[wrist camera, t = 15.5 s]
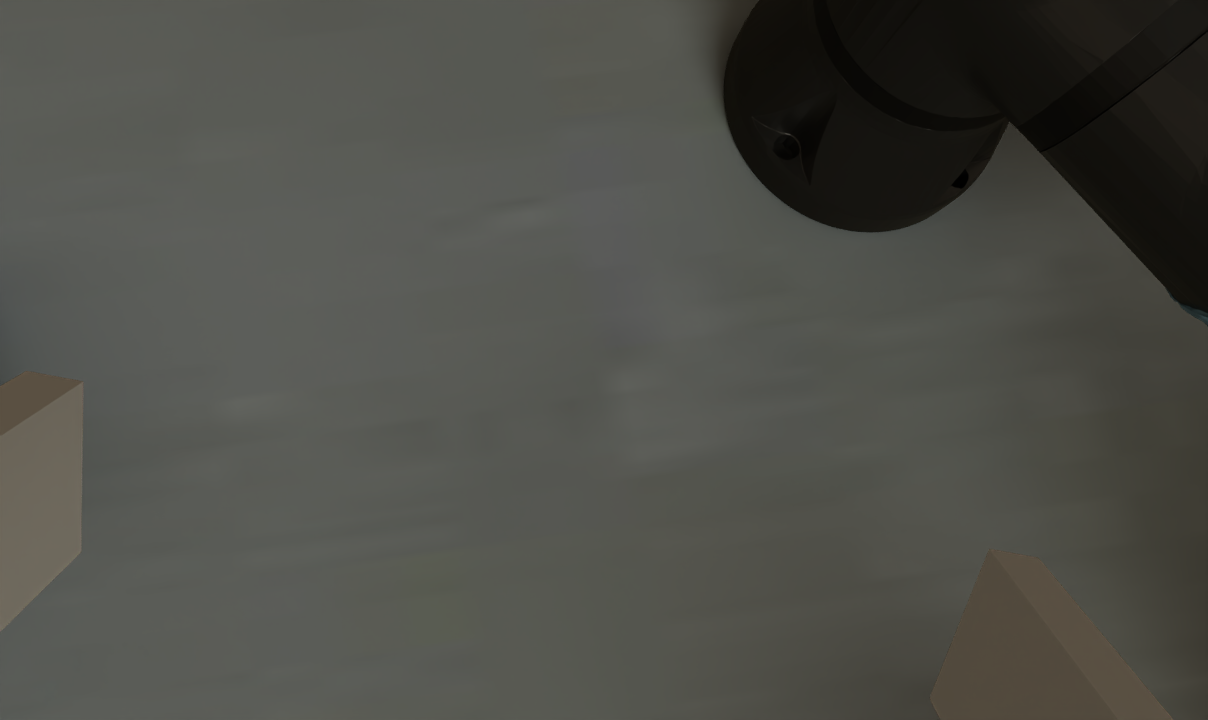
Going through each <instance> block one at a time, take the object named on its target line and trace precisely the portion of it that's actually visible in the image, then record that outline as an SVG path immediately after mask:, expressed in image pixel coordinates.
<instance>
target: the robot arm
mask: <svg viewBox="0 0 1208 720" xmlns="http://www.w3.org/2000/svg"><path fill="white" fill-rule="evenodd" d="M724 101H725V109H726V114H727V119H728V122H729V126H730V129H731V132H732V135H733V138H734V140H735V142H736V144H737V147H738V149H739V151H740V152H741V154H742V156H743V158H744V159H745V161H746V163H747V164H748V166H749V167H750V168H751V170H752V171H753V173H754V174H755V175H756V176H757V177H758V179H759V180H760V181H761V182H762V183H763V184H764V185H765V186H766V187H767V188H768V189H769V190H770V191H771V192H772V193H773V194H774V195H775V196H776V197H778V198H779V199H780V200H781V201H783V202H784V203H785V204H787V205H788V206H790V207H791V208H793V209H794V210H796V211H798V212H799V213H801V214H803V215H805V216H807V217H809V218H811V219H813V220H815V221H818V222H820V223H823V224H826V225H829V226H832V227H836V228H839V229H844V230H849V231H857V232H884V231H891V230H896V229H901V228H904V227H908V226H911V225H913V224H916V223H918V222H921V221H923V220H925V219H927V218H928V217H930V216H932V215H934V214H935V213H936V212H938V211H939V210H941V209H942V208H944V207H945V206H946V205H948V204H949V203H951V202H952V201H953V200H955V199H956V198H957V197H959V196H960V195H961V194H962V193H964V192H965V191H966V190H967V189H968V188H969V187H970V186H971V185H972V184H973V182H974V181H975V180H976V179H977V178H978V177H979V175H980V174H981V173H982V171H983V170H984V169H985V167H986V165H987V164H988V162H989V160H990V159H991V157H992V155H993V153H994V151H995V149H996V147H997V145H998V143H999V141H1000V139H1001V137H1002V135H1003V133H1004V131H1005V129H1006V127H1007V125H1008V123H1009V121H1010V122H1011V123H1012V124H1013V125H1014V126H1015V127H1016V128H1017V129H1018V130H1019V131H1020V132H1021V133H1022V134H1023V135H1024V136H1025V137H1026V138H1027V139H1028V140H1029V142H1030V143H1031V144H1032V145H1033V146H1034V147H1035V148H1036V149H1037V150H1038V151H1039V152H1040V153H1041V154H1042V155H1043V156H1044V157H1045V158H1046V160H1047V161H1048V162H1049V163H1050V164H1051V165H1052V166H1053V167H1054V168H1055V169H1056V170H1057V171H1058V172H1059V173H1060V175H1061V176H1062V177H1063V178H1064V179H1065V180H1066V181H1067V182H1068V183H1069V184H1070V185H1071V186H1072V187H1073V189H1074V190H1075V191H1076V192H1077V193H1078V194H1079V195H1080V196H1081V197H1082V198H1083V199H1084V200H1085V201H1086V203H1087V204H1088V205H1089V206H1090V207H1091V208H1092V209H1093V210H1094V211H1095V212H1096V213H1097V214H1098V215H1099V217H1100V218H1101V219H1102V220H1103V221H1104V222H1105V223H1106V224H1107V225H1108V226H1109V227H1110V228H1111V229H1112V230H1113V232H1114V233H1115V234H1116V235H1117V236H1118V237H1119V238H1120V239H1121V240H1122V241H1123V242H1124V243H1125V244H1126V246H1127V247H1128V248H1129V249H1130V250H1131V251H1132V252H1133V253H1134V254H1135V255H1136V256H1137V257H1138V258H1139V260H1140V261H1141V262H1142V263H1143V264H1144V265H1145V266H1146V267H1147V268H1148V269H1149V270H1150V271H1151V272H1152V274H1153V275H1154V276H1155V277H1156V278H1157V279H1158V280H1159V281H1160V282H1161V283H1162V284H1163V285H1164V286H1165V287H1166V289H1167V291H1168V293H1169V295H1170V297H1171V298H1172V299H1173V300H1174V301H1175V302H1178V303H1179V305H1180V306H1181V308H1182V309H1183V310H1185V311H1186V312H1187V313H1189V314H1191V315H1192V316H1194V317H1195V318H1197V319H1199V320H1202V321H1203V322H1204V323H1205V324H1206V325H1207V326H1208V0H759V2H758V3H757V4H756V5H755V7H754V8H753V9H752V11H751V12H750V14H749V16H748V18H747V19H746V21H745V23H744V25H743V27H742V28H741V30H740V32H739V34H738V36H737V38H736V40H735V42H734V44H733V46H732V49H731V51H730V54H729V58H728V61H727V66H726V71H725V79H724ZM82 446H83V381H78V380H73V379H67V378H62V377H56V376H51V375H46V374H40V373H35V372H29V371H26V372H24V373H22V374H20V375H19V376H17V377H15V378H13V379H12V380H10V381H8V382H6V383H5V384H3V385H1V386H0V632H1V631H2V630H3V629H4V628H5V627H6V626H7V625H8V624H9V623H10V622H11V621H12V620H13V619H14V618H15V617H16V616H17V615H18V614H19V613H20V612H21V611H22V610H23V609H24V608H25V607H26V606H27V605H28V604H29V603H30V602H31V601H32V600H33V599H34V598H35V597H36V596H37V595H38V594H39V593H40V592H41V591H42V590H43V589H44V588H45V587H46V586H47V585H48V584H49V583H50V582H51V581H52V580H53V579H54V578H55V577H56V576H57V575H58V574H59V573H60V572H61V571H63V570H64V569H65V568H66V567H67V566H68V565H69V564H70V563H71V562H72V561H73V560H74V559H75V558H76V557H77V556H78V555H79V554H80V553H81V527H82ZM930 700H931V702H932V704H933V706H934V708H935V710H936V712H937V714H938V716H939V718H940V720H1173V719H1172V717H1171V716H1170V715H1169V714H1168V713H1167V711H1166V710H1165V709H1164V708H1163V707H1162V705H1161V704H1160V703H1159V702H1158V701H1157V699H1156V698H1155V697H1154V696H1153V695H1152V693H1151V692H1150V691H1149V690H1148V689H1147V687H1146V686H1145V685H1144V684H1143V683H1142V681H1141V680H1140V679H1139V678H1138V677H1137V675H1136V674H1135V673H1134V672H1133V671H1132V669H1131V668H1130V667H1129V666H1128V665H1127V663H1126V662H1125V661H1124V660H1123V659H1122V657H1121V656H1120V655H1119V654H1118V653H1117V651H1116V650H1115V649H1114V648H1113V647H1112V645H1111V644H1110V643H1109V642H1108V641H1107V639H1106V638H1105V637H1104V636H1103V635H1102V633H1101V632H1100V631H1099V630H1098V629H1097V627H1096V626H1095V625H1094V624H1093V623H1092V621H1091V620H1090V619H1089V618H1088V617H1087V615H1086V614H1085V613H1084V612H1083V611H1082V609H1081V608H1080V607H1079V606H1078V605H1077V603H1076V602H1075V601H1074V600H1073V599H1072V597H1071V596H1070V595H1069V594H1068V593H1067V591H1066V590H1065V589H1064V588H1063V587H1062V585H1061V584H1060V583H1059V582H1058V581H1057V579H1056V578H1055V577H1054V576H1053V575H1052V573H1051V572H1050V571H1049V570H1048V569H1047V567H1046V566H1045V565H1044V564H1043V563H1042V561H1041V560H1040V559H1039V558H1037V557H1031V556H1026V555H1020V554H1015V553H1010V552H1004V551H999V550H993V549H989V551H988V553H987V556H986V558H985V561H984V563H983V566H982V568H981V571H980V573H979V576H978V578H977V581H976V583H975V586H974V588H973V591H972V593H971V596H970V598H969V601H968V603H967V606H966V608H965V611H964V613H963V616H962V618H961V621H960V623H959V626H958V628H957V631H956V633H955V636H954V638H953V641H952V643H951V646H950V648H949V651H948V653H947V656H946V658H945V661H944V663H943V666H942V668H941V670H940V673H939V675H938V678H937V680H936V683H935V685H934V688H933V690H932V693H931V695H930Z"/></svg>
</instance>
